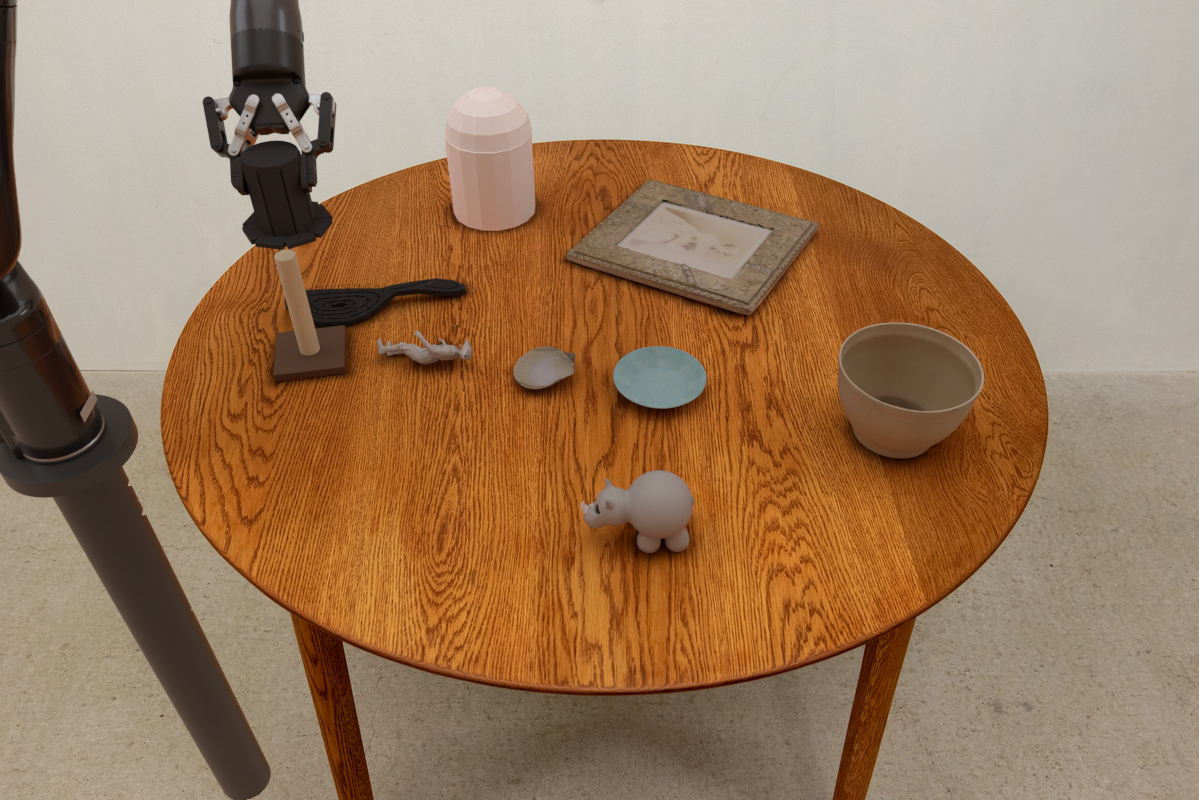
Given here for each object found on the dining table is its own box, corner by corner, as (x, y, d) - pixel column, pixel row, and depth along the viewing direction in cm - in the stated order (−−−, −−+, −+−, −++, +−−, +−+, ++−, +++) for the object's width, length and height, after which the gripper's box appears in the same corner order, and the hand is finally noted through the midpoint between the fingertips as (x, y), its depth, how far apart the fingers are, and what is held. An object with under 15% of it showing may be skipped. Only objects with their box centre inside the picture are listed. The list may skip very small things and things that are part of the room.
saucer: (697, 427, 116) (698, 413, 114) (603, 412, 118) (603, 398, 116) (711, 366, 124) (712, 353, 123) (623, 353, 126) (624, 340, 125)
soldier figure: (398, 344, 129) (478, 326, 126) (403, 378, 129) (484, 361, 126) (369, 337, 122) (453, 318, 119) (374, 374, 121) (459, 355, 118)
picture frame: (648, 186, 160) (648, 172, 158) (818, 231, 148) (820, 216, 146) (565, 263, 143) (565, 249, 141) (751, 321, 131) (752, 306, 129)
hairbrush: (469, 290, 132) (283, 311, 126) (470, 312, 135) (288, 333, 129) (460, 259, 138) (282, 277, 132) (461, 280, 140) (286, 299, 135)
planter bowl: (966, 407, 119) (990, 339, 111) (950, 496, 107) (976, 427, 100) (838, 375, 123) (853, 308, 116) (811, 458, 112) (826, 389, 105)
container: (450, 191, 158) (436, 75, 144) (530, 184, 160) (523, 69, 146) (456, 234, 148) (442, 114, 135) (541, 226, 150) (535, 106, 136)
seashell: (522, 368, 127) (509, 396, 120) (518, 347, 125) (505, 374, 118) (582, 364, 125) (573, 392, 118) (579, 343, 124) (569, 370, 117)
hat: (239, 254, 103) (216, 180, 97) (247, 207, 110) (226, 136, 104) (331, 245, 104) (315, 171, 98) (333, 199, 111) (318, 128, 105)
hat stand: (274, 382, 122) (243, 280, 111) (279, 339, 129) (249, 239, 118) (345, 373, 123) (321, 271, 113) (346, 331, 130) (323, 231, 119)
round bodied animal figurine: (581, 509, 106) (580, 456, 100) (688, 509, 106) (693, 456, 100) (580, 560, 101) (579, 507, 95) (693, 560, 101) (698, 507, 95)
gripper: (186, 27, 99) (194, 186, 98) (326, 22, 100) (335, 179, 99) (211, 57, 106) (219, 204, 105) (341, 52, 107) (349, 198, 106)
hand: (275, 191), depth 102 cm, fingers closed on hat, 6 cm apart
